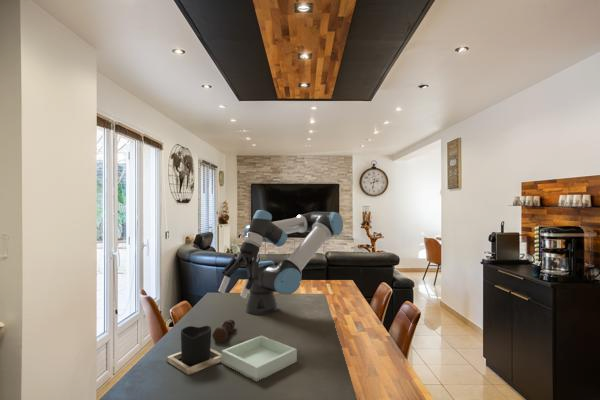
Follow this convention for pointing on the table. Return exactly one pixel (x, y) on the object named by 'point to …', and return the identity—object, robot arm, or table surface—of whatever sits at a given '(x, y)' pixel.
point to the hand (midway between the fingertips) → (231, 294)
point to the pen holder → (195, 345)
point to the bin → (259, 357)
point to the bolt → (223, 331)
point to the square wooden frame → (189, 370)
